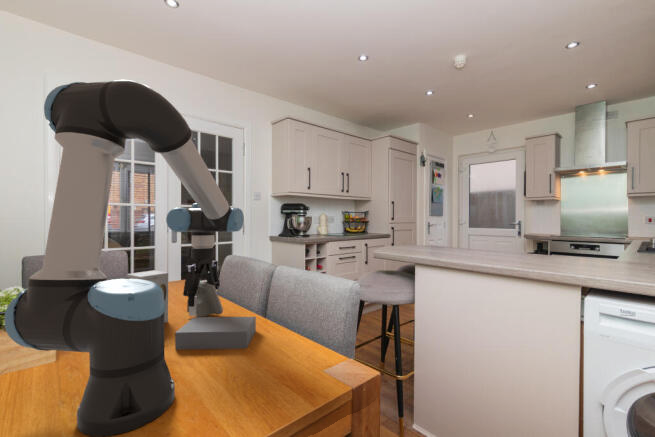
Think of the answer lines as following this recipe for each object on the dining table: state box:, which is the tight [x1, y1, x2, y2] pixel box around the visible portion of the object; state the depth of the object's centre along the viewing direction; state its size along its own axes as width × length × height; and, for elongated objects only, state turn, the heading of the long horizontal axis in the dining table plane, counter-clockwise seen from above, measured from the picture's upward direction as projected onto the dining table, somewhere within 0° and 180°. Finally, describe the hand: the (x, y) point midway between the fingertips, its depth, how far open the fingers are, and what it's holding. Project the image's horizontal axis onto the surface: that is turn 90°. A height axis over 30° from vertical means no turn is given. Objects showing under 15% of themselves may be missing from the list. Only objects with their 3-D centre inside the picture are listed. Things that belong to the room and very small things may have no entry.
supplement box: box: [126, 269, 169, 324], centre depth 100 cm, size 10×9×17 cm
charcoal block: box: [174, 316, 257, 351], centre depth 87 cm, size 12×19×5 cm, turn 92°
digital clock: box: [186, 281, 224, 317], centre depth 106 cm, size 16×9×11 cm, turn 40°
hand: (202, 311), depth 105 cm, fingers closed on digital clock, 9 cm apart
